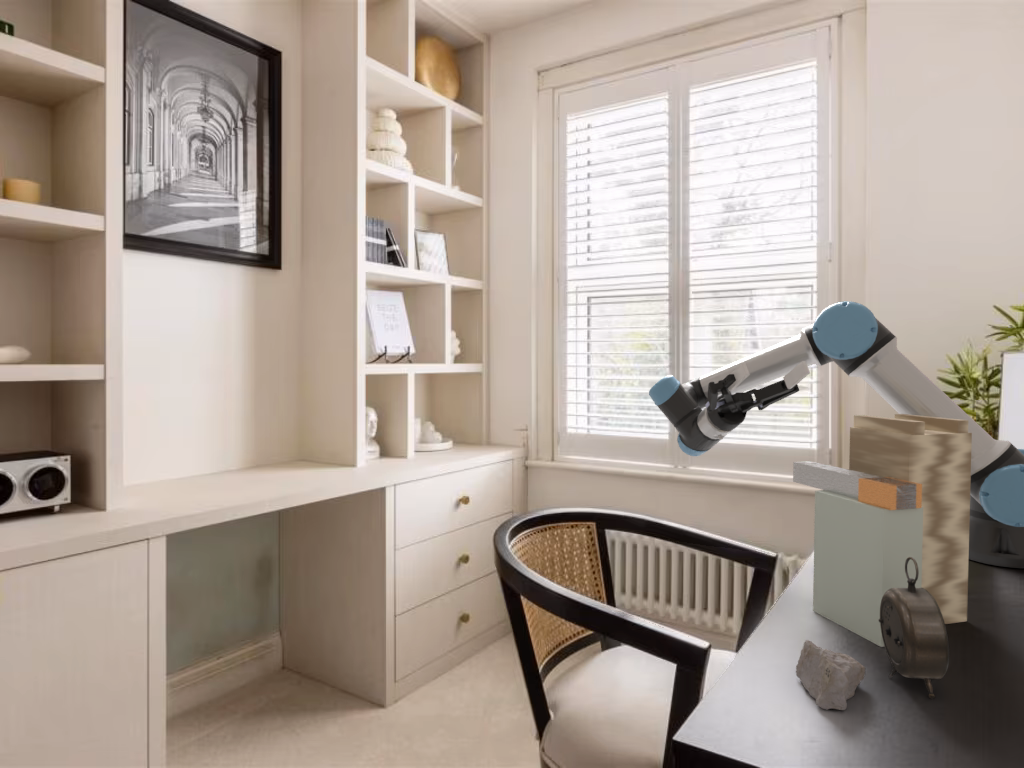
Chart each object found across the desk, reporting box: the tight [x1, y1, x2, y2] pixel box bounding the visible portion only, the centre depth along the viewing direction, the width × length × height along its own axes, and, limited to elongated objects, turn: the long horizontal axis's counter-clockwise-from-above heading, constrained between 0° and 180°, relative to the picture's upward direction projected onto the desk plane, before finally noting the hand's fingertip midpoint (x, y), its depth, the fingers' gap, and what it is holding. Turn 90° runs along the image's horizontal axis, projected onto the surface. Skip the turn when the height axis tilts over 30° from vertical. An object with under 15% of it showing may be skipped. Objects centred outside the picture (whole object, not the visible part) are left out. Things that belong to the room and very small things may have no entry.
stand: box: [848, 413, 972, 625], centre depth 107 cm, size 12×12×32 cm
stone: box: [795, 639, 866, 711], centre depth 81 cm, size 10×8×6 cm
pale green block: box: [812, 489, 923, 648], centre depth 101 cm, size 7×14×20 cm, turn 15°
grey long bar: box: [792, 460, 922, 510], centre depth 104 cm, size 6×22×4 cm, turn 15°
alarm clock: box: [879, 557, 950, 699], centre depth 84 cm, size 11×5×16 cm, turn 168°
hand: (776, 367), depth 125 cm, fingers open, 13 cm apart
